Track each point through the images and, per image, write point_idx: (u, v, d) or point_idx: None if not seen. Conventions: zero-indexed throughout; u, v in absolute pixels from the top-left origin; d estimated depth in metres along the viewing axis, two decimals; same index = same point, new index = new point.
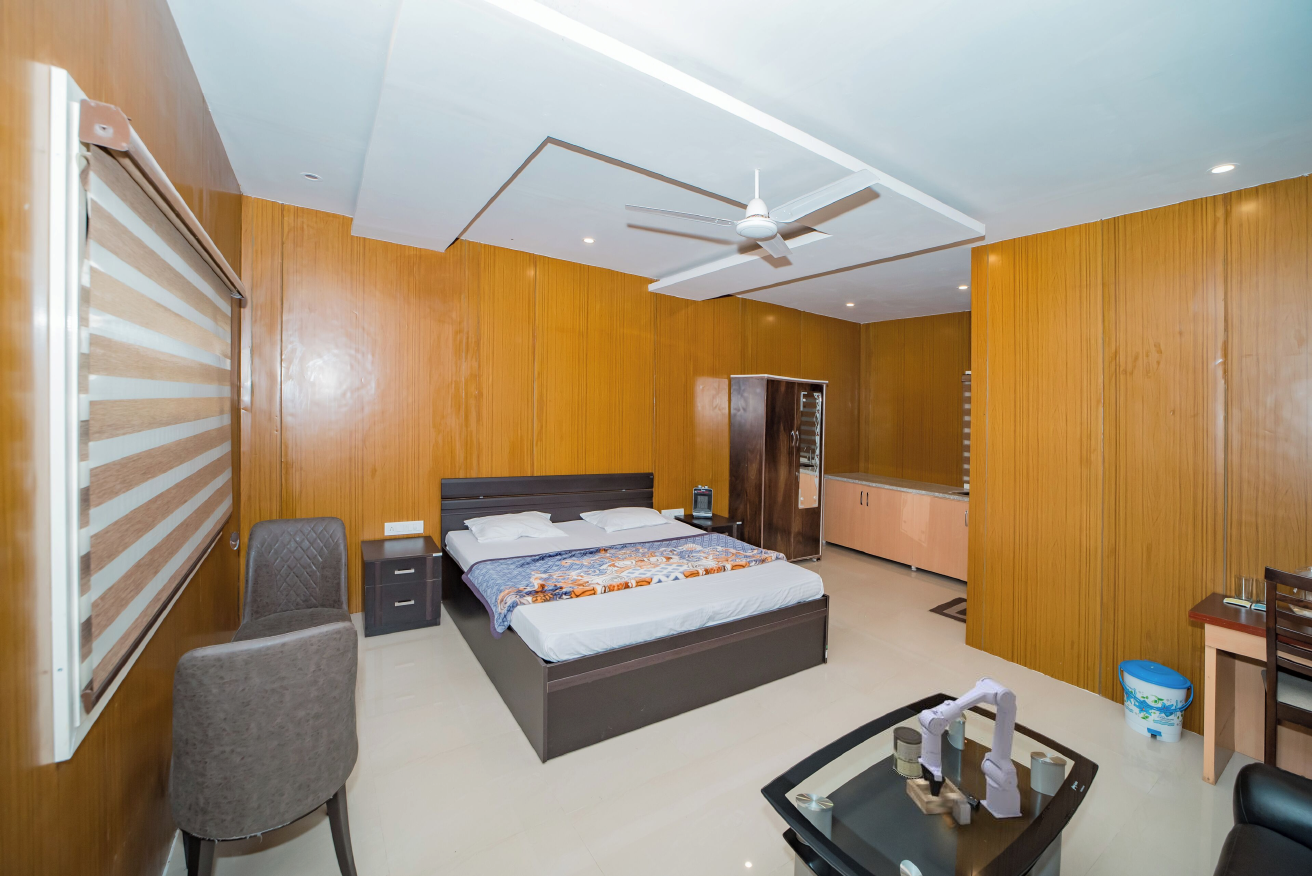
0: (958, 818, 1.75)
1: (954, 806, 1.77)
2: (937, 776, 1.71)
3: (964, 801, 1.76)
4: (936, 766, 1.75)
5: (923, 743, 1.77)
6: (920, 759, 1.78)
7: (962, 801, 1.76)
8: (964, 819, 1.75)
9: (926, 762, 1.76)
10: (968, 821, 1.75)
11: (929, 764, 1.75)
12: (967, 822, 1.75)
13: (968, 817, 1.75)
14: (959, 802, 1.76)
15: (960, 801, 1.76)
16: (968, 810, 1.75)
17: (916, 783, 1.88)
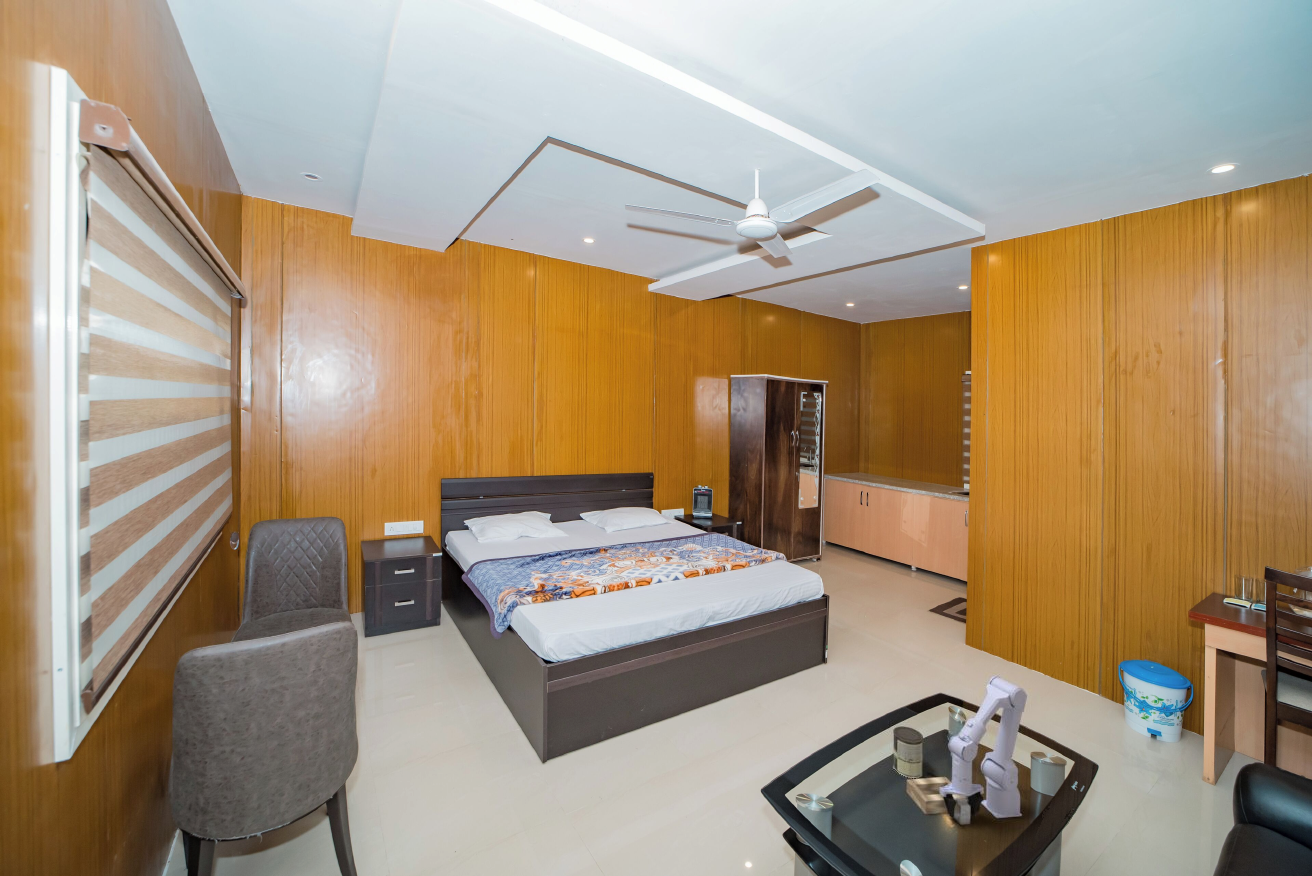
0: (958, 818, 1.75)
1: None
2: (940, 789, 1.76)
3: (964, 801, 1.76)
4: (955, 789, 1.75)
5: (955, 770, 1.76)
6: None
7: (962, 801, 1.76)
8: (964, 819, 1.75)
9: None
10: (968, 821, 1.75)
11: (952, 784, 1.77)
12: (967, 822, 1.75)
13: (968, 817, 1.75)
14: (959, 802, 1.76)
15: (960, 801, 1.76)
16: (968, 810, 1.75)
17: (916, 783, 1.88)
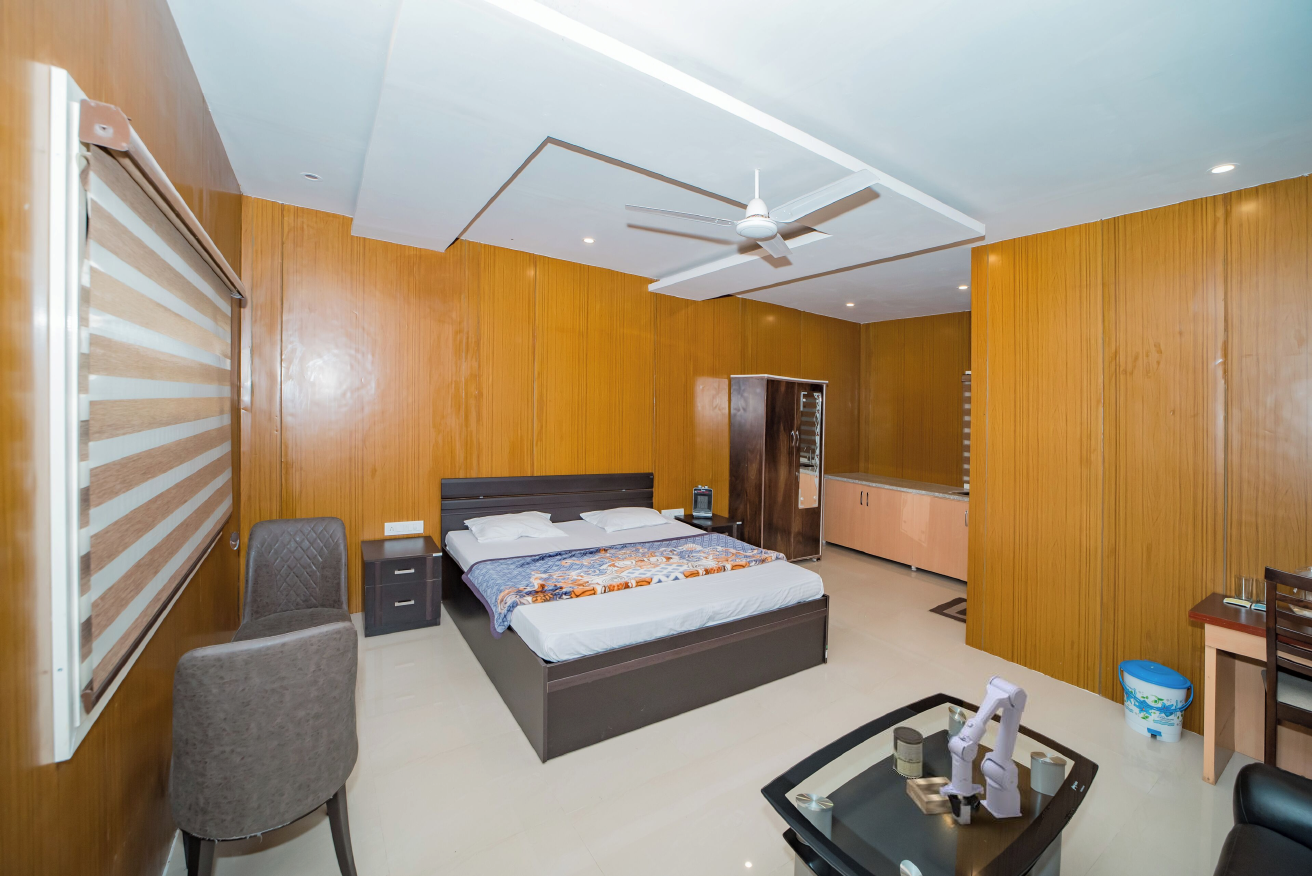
0: (958, 818, 1.75)
1: None
2: (940, 790, 1.76)
3: (964, 801, 1.76)
4: (955, 789, 1.75)
5: (955, 770, 1.76)
6: None
7: (962, 801, 1.76)
8: (964, 819, 1.75)
9: None
10: (968, 821, 1.75)
11: (952, 784, 1.77)
12: (967, 822, 1.75)
13: (968, 817, 1.75)
14: None
15: None
16: (968, 810, 1.75)
17: (916, 783, 1.88)
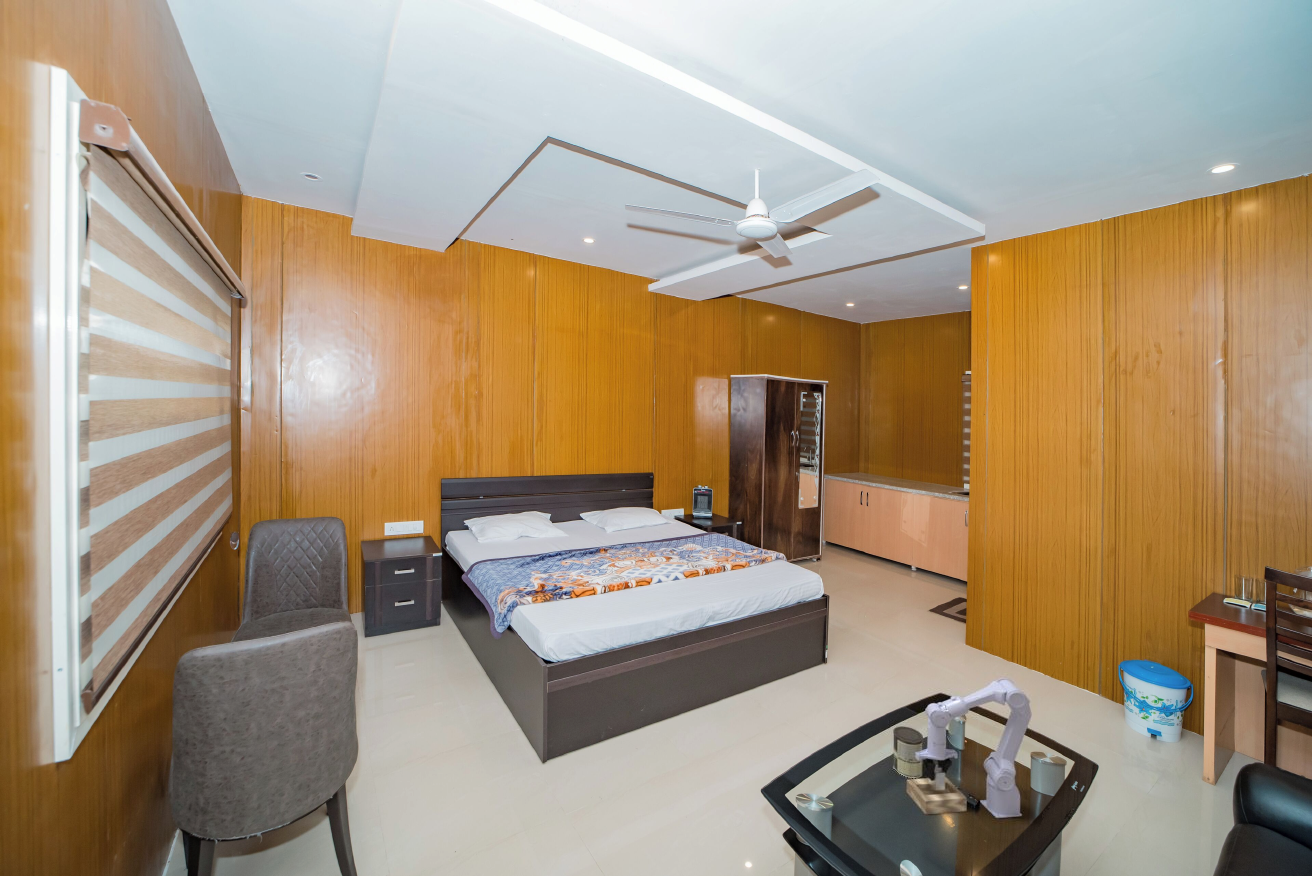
0: (933, 784, 1.84)
1: None
2: (916, 754, 1.84)
3: (939, 768, 1.84)
4: (930, 754, 1.84)
5: None
6: None
7: (937, 768, 1.84)
8: (939, 785, 1.83)
9: None
10: (943, 787, 1.83)
11: (927, 749, 1.86)
12: (941, 788, 1.83)
13: (943, 783, 1.83)
14: None
15: (935, 768, 1.84)
16: (943, 777, 1.83)
17: (916, 783, 1.88)
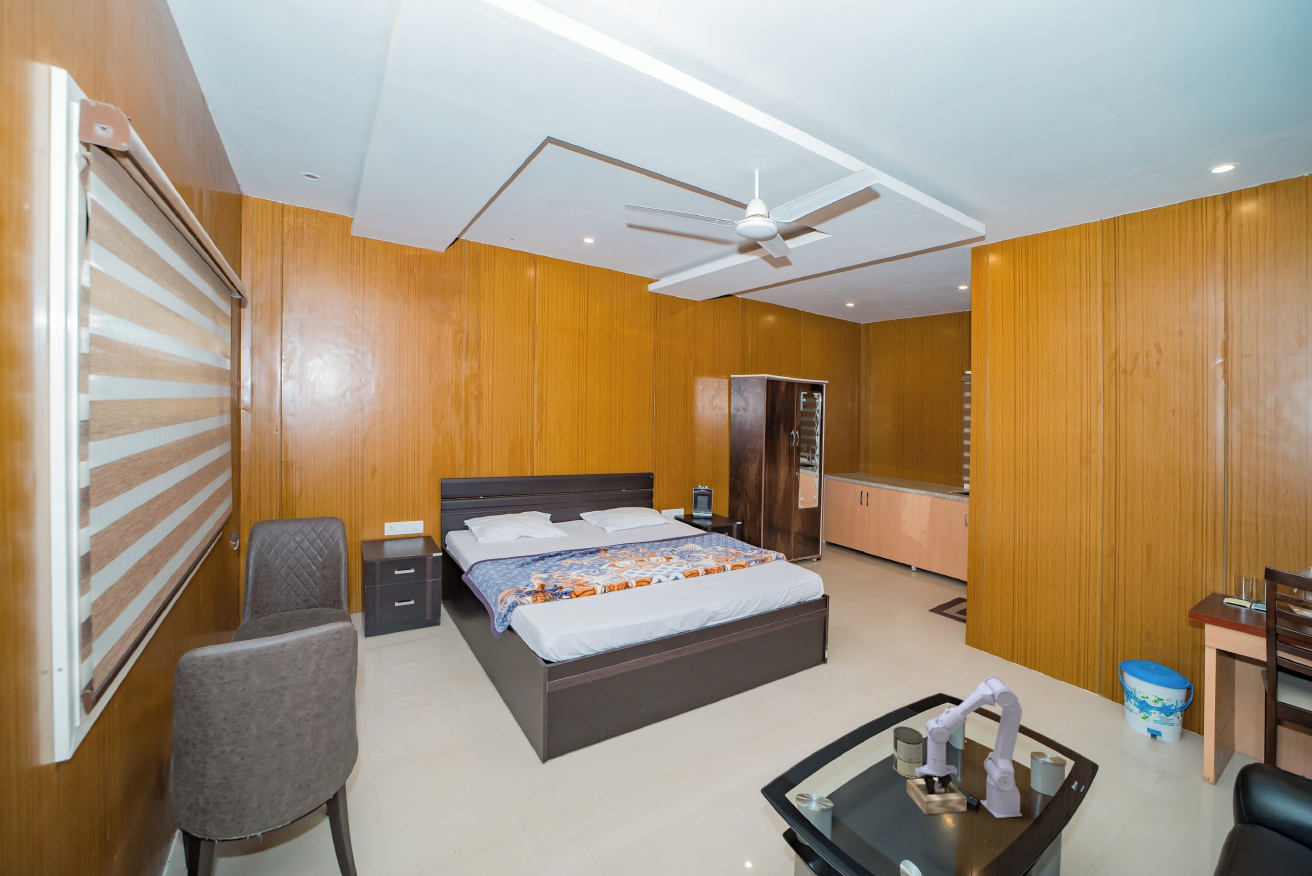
0: None
1: None
2: (916, 770, 1.85)
3: (939, 784, 1.84)
4: (929, 770, 1.84)
5: (927, 749, 1.86)
6: None
7: (937, 784, 1.84)
8: None
9: None
10: None
11: (927, 765, 1.86)
12: None
13: None
14: (934, 785, 1.84)
15: (935, 784, 1.84)
16: (942, 792, 1.83)
17: (916, 783, 1.88)
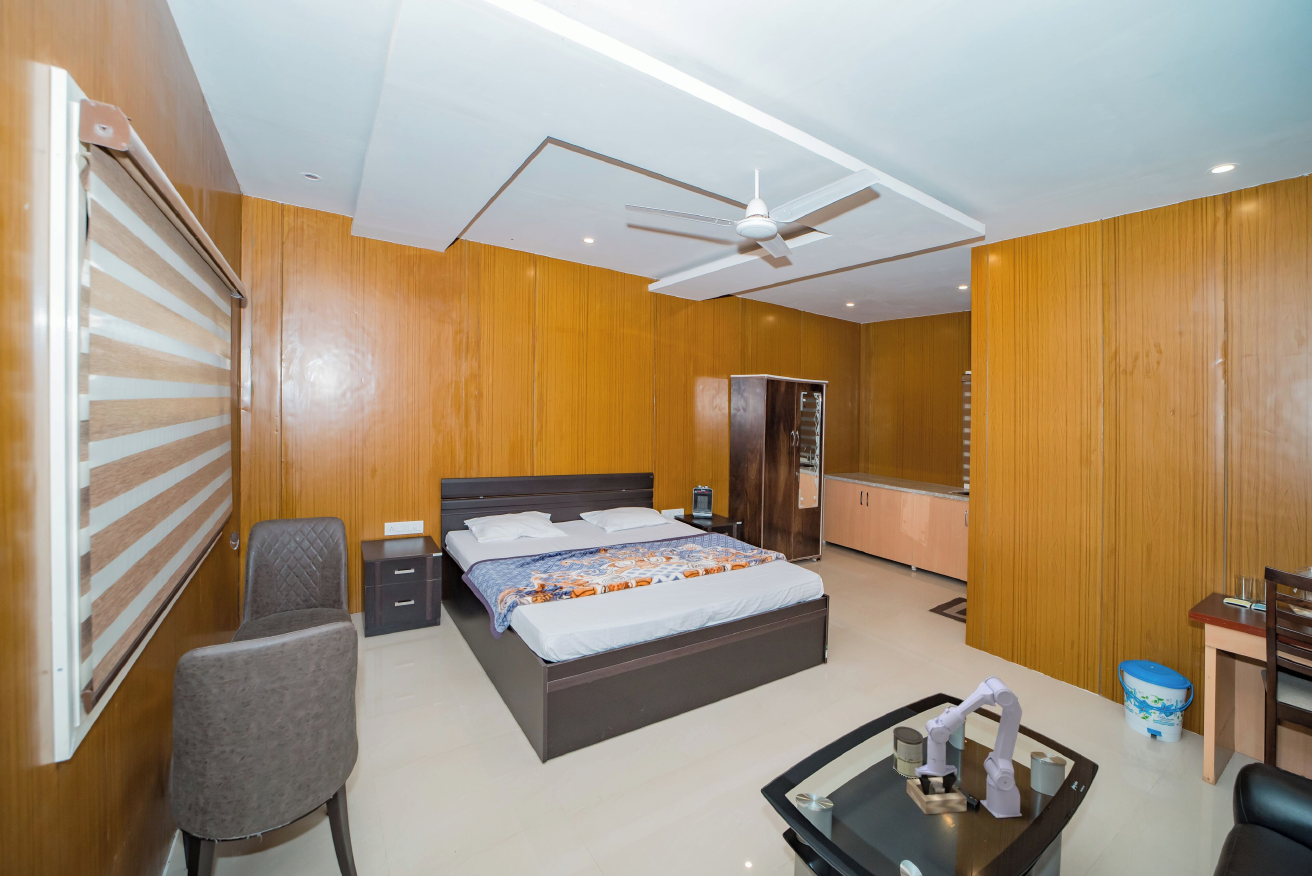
0: None
1: (929, 789, 1.86)
2: (916, 770, 1.85)
3: (939, 784, 1.84)
4: (930, 770, 1.84)
5: (927, 750, 1.86)
6: None
7: (937, 784, 1.84)
8: None
9: None
10: None
11: (927, 765, 1.86)
12: None
13: None
14: (934, 785, 1.84)
15: (935, 784, 1.84)
16: (942, 792, 1.83)
17: (916, 783, 1.88)
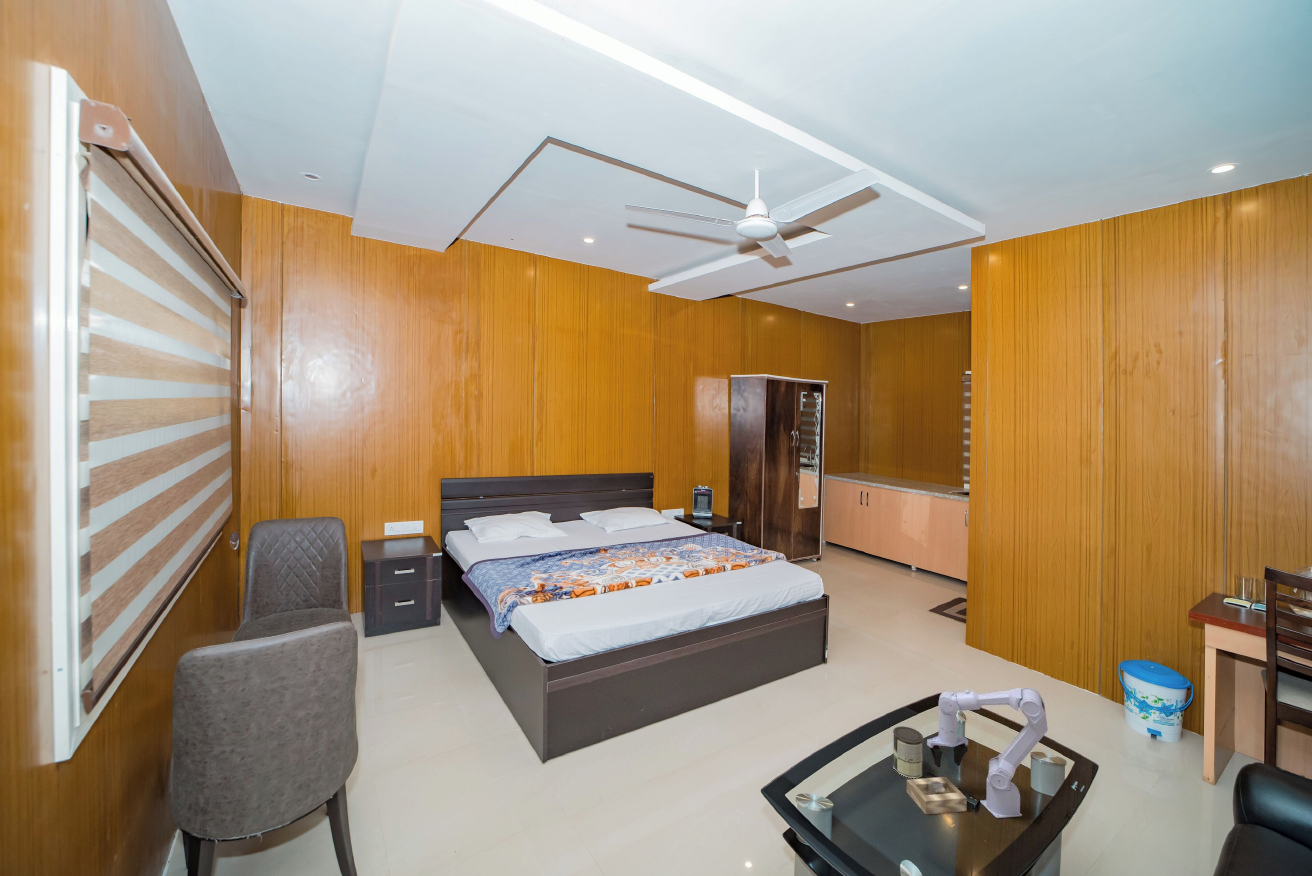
0: None
1: (929, 789, 1.86)
2: (928, 741, 1.89)
3: (939, 784, 1.84)
4: (941, 741, 1.89)
5: None
6: None
7: (937, 784, 1.84)
8: None
9: None
10: None
11: (938, 737, 1.91)
12: None
13: None
14: (934, 785, 1.84)
15: (935, 784, 1.84)
16: (942, 792, 1.83)
17: (916, 783, 1.88)
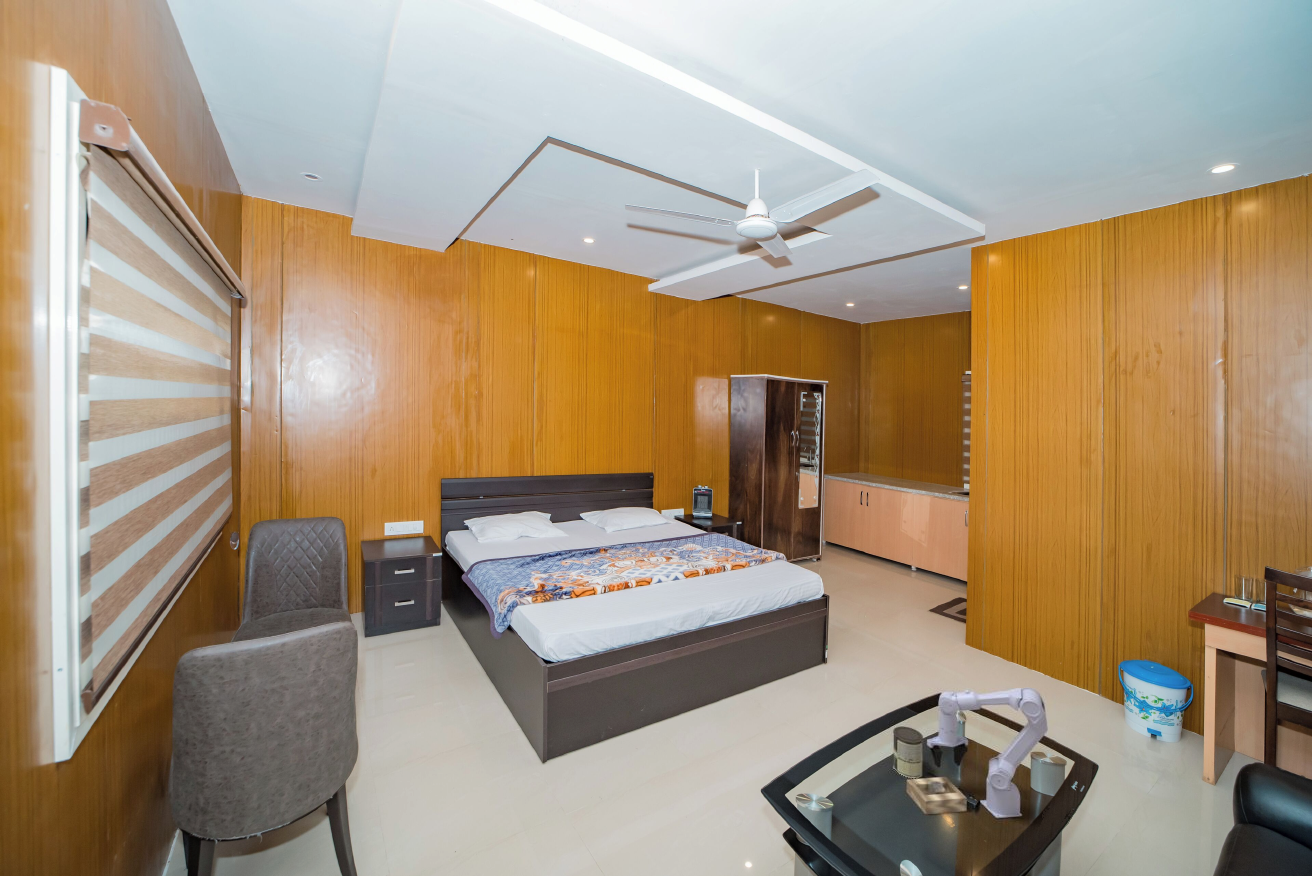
0: None
1: (929, 789, 1.86)
2: (928, 741, 1.89)
3: (939, 784, 1.84)
4: (941, 741, 1.89)
5: None
6: None
7: (937, 784, 1.84)
8: None
9: None
10: None
11: (938, 737, 1.91)
12: None
13: None
14: (934, 785, 1.84)
15: (935, 784, 1.84)
16: (942, 792, 1.83)
17: (916, 783, 1.88)
